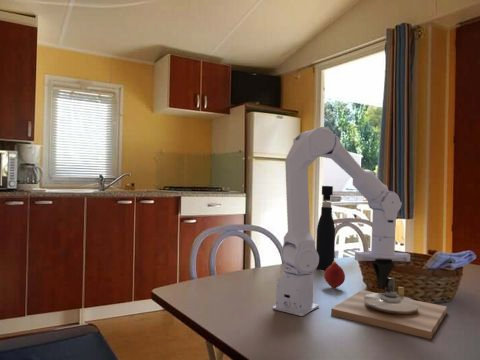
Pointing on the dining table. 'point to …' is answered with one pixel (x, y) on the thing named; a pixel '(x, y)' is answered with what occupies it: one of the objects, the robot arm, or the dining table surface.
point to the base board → (393, 315)
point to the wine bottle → (326, 232)
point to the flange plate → (391, 301)
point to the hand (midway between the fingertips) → (381, 288)
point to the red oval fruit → (334, 275)
